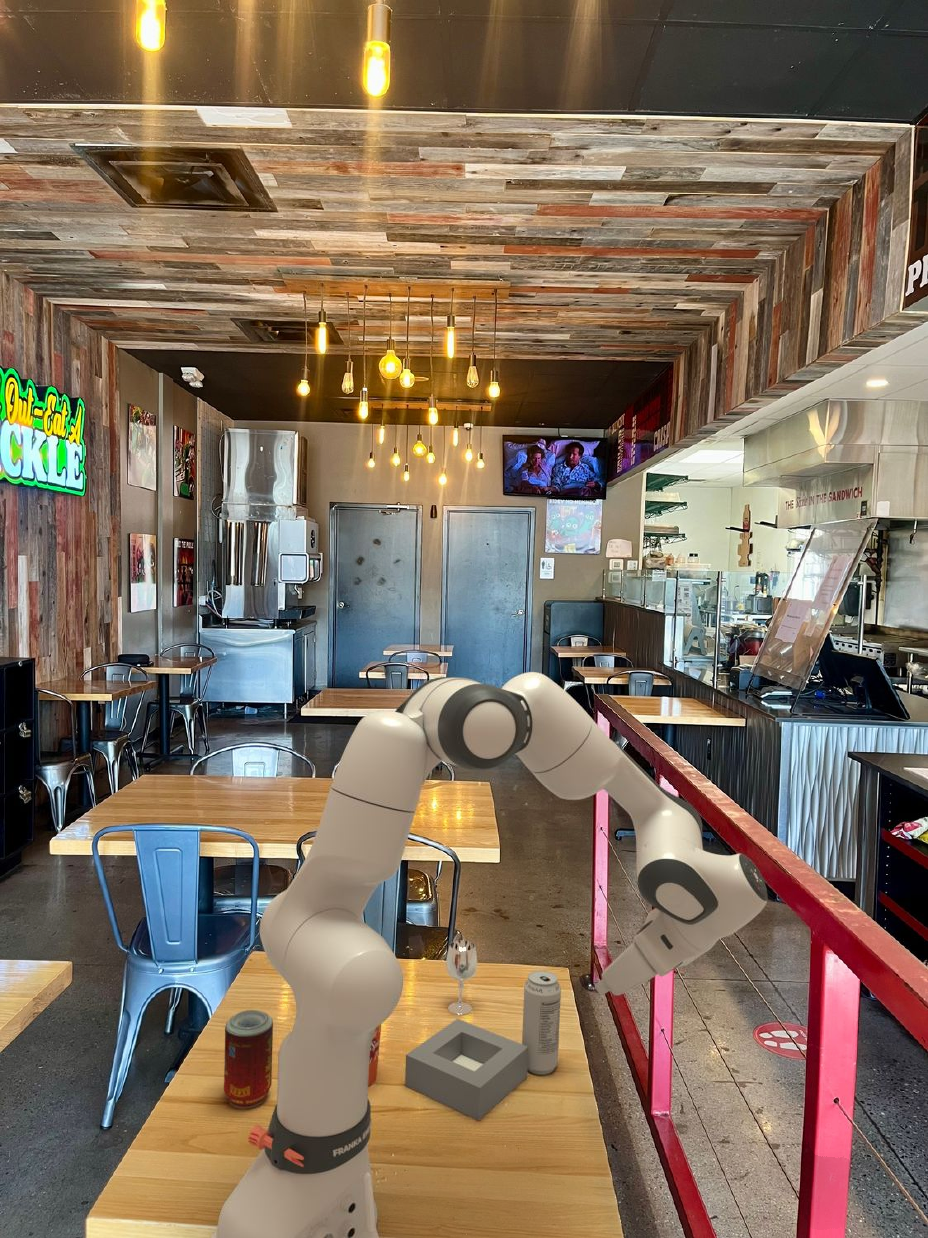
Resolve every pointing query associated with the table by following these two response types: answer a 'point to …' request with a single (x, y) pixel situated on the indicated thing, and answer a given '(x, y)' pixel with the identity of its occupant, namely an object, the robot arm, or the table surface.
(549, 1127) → the table surface
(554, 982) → the energy drink can
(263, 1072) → the soda can
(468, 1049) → the socket block
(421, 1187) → the table surface
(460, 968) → the wineglass
